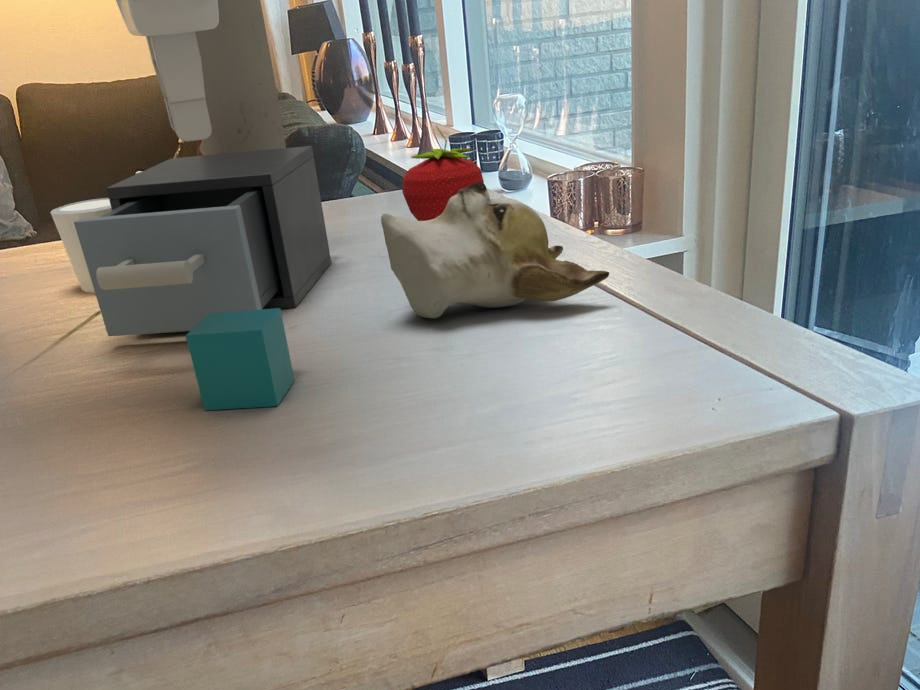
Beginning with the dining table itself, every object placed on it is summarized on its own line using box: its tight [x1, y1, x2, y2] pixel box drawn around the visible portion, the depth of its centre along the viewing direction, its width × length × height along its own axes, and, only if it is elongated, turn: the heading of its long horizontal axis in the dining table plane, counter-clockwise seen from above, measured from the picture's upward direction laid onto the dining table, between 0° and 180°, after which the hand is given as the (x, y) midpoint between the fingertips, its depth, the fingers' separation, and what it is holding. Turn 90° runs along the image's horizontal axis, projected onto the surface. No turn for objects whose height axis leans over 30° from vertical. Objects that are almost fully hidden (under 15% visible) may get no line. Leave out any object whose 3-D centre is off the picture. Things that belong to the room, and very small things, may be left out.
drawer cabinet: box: [105, 145, 332, 310], centre depth 79 cm, size 15×13×10 cm
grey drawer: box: [74, 186, 282, 337], centre depth 70 cm, size 18×11×8 cm, turn 176°
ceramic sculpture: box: [380, 182, 610, 319], centre depth 68 cm, size 11×9×15 cm
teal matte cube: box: [185, 308, 295, 411], centre depth 57 cm, size 4×4×4 cm
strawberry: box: [401, 125, 485, 221], centre depth 84 cm, size 6×8×10 cm
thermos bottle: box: [195, 0, 287, 156], centre depth 86 cm, size 8×8×28 cm
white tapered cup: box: [50, 197, 112, 294], centre depth 84 cm, size 7×7×7 cm
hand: (192, 136), depth 51 cm, fingers closed
